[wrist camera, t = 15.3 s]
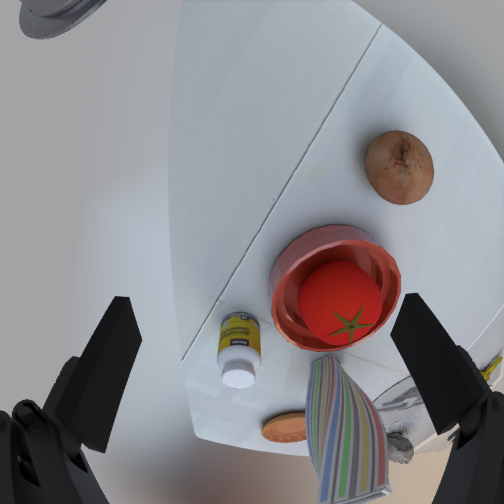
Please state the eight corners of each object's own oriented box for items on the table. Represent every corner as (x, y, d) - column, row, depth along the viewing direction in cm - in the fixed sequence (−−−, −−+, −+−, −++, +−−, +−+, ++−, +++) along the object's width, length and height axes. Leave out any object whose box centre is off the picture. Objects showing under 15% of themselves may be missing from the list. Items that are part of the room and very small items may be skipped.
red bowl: (272, 221, 37) (276, 238, 32) (396, 225, 38) (415, 241, 32) (266, 328, 46) (268, 354, 40) (369, 324, 46) (380, 346, 41)
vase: (307, 391, 55) (328, 513, 28) (281, 359, 49) (298, 511, 22) (364, 366, 52) (405, 488, 25) (347, 330, 47) (399, 481, 20)
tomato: (329, 323, 45) (344, 369, 35) (277, 286, 41) (285, 334, 32) (378, 279, 41) (406, 320, 31) (331, 233, 37) (357, 271, 28)
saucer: (281, 439, 66) (282, 447, 64) (249, 421, 61) (249, 431, 58) (330, 421, 62) (332, 430, 60) (304, 401, 57) (305, 411, 54)
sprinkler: (469, 413, 62) (468, 401, 54) (461, 400, 69) (458, 386, 61) (506, 381, 57) (510, 363, 50) (497, 369, 64) (499, 349, 57)
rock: (373, 441, 70) (401, 464, 57) (392, 422, 73) (421, 443, 60) (376, 451, 77) (400, 471, 64) (393, 434, 80) (418, 453, 67)
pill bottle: (259, 311, 44) (263, 365, 34) (259, 339, 47) (261, 392, 36) (219, 311, 44) (213, 364, 34) (222, 339, 47) (217, 391, 36)
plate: (349, 428, 66) (350, 431, 65) (396, 371, 54) (397, 375, 52) (417, 417, 68) (418, 419, 67) (464, 363, 56) (466, 365, 55)
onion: (358, 142, 35) (365, 117, 26) (417, 144, 32) (439, 122, 23) (363, 207, 36) (373, 200, 26) (423, 208, 33) (450, 202, 24)
